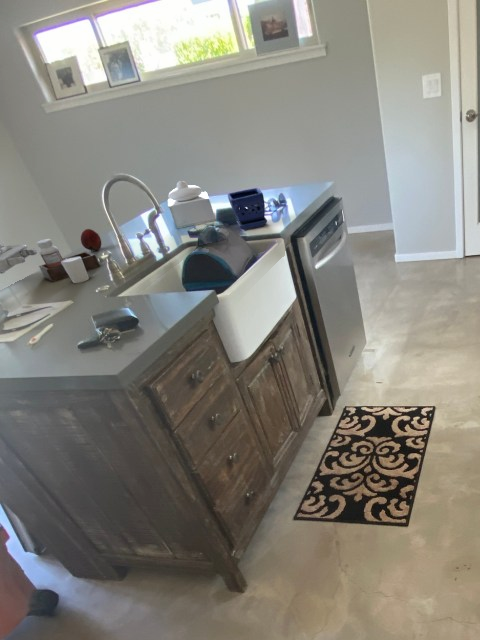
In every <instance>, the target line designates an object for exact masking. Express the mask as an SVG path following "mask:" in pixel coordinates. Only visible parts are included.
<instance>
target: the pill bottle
mask: <svg viewBox="0 0 480 640" xmlns="http://www.w3.org/2000/svg"><path fill="white" fill-rule="evenodd" d="M36 244H37V246H38V248H39V250H38V251H39V255H40V256H41V258H42V260H43V262H44V264H46V266H47V268H48V269H49V268H52V267H55V266H59V265H62V264H61V261H63V258H64V257H63V256H62V255H61V253H60V251H59V248H58V247H57V246H55V245H53V241H52V240H51V238H44V239H41V240H38V241H36Z"/></svg>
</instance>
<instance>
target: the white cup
mask: <svg viewBox="0 0 480 640" xmlns="http://www.w3.org/2000/svg"><path fill="white" fill-rule="evenodd" d="M61 264H62V265H63V267H64V268H65V270H66V272H67V273H68V275H69V279H70V280H71V281H72V282H73V284H79V283H83V282H86V281H88V280H89V279H90V277H89V275H88V272H87V271H88V270H87V271H86V269H85V266H84V264H83V261H82V259H81V257H71V258H68V259H65V260H63V261H61Z"/></svg>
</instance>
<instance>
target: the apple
mask: <svg viewBox="0 0 480 640" xmlns="http://www.w3.org/2000/svg"><path fill="white" fill-rule="evenodd" d="M80 243H81V245H82V247H84V248H85V249H86V250H89V251H90V252H93V251H98V250H99V251H100V249H101V248H102V239H101V237H100V235H99V233H97V232H96V231H95V230H93V229H91V228H86V229H84V230H83V231H82V232H81V235H80Z"/></svg>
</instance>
